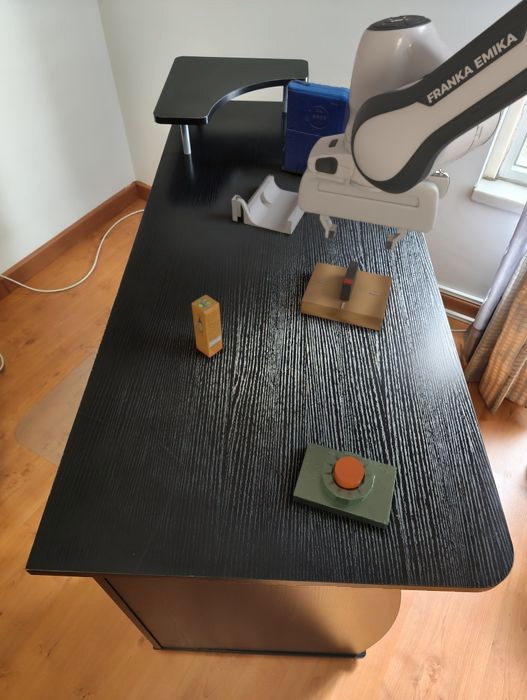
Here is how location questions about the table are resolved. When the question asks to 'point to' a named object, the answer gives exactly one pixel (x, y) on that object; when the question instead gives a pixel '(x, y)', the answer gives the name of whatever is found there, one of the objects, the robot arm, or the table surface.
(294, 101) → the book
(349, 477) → the button
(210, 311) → the supplement box
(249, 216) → the white curved channel piece
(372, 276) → the control panel
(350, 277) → the dark grey block
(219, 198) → the table surface
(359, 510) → the button box
